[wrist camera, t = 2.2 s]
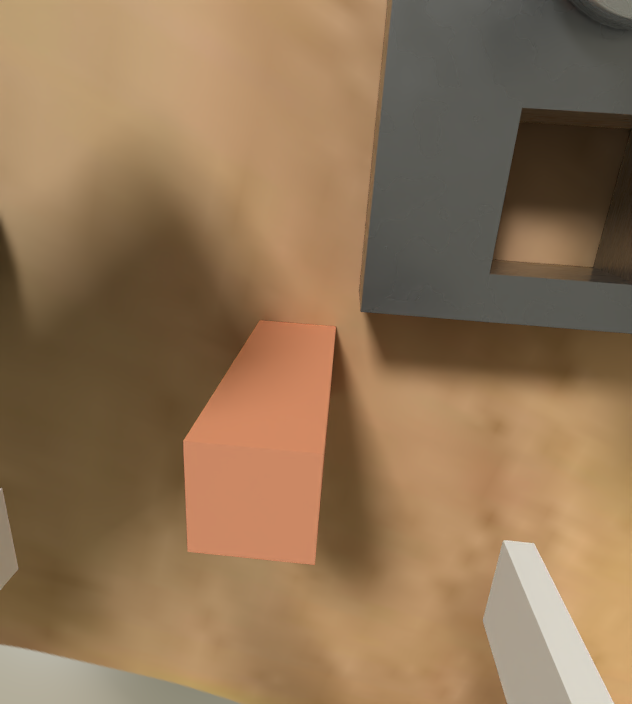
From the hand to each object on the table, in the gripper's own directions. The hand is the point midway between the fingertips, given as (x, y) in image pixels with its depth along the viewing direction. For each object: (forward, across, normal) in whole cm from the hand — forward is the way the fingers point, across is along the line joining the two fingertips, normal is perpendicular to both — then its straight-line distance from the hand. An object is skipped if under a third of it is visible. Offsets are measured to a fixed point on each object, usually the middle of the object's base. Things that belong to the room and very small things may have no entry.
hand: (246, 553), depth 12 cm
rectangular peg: (+14, 0, 0) cm, 14 cm away
